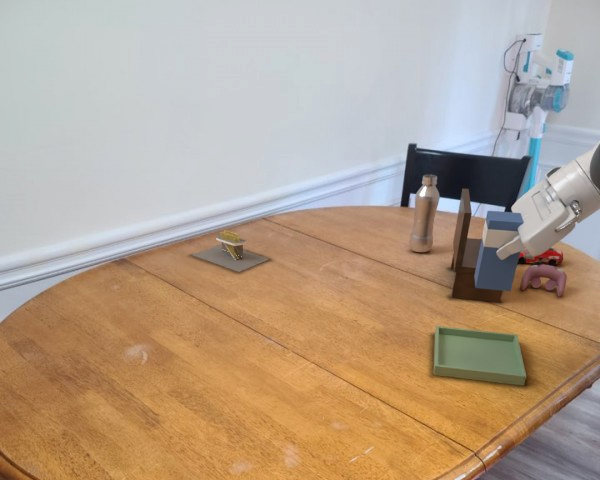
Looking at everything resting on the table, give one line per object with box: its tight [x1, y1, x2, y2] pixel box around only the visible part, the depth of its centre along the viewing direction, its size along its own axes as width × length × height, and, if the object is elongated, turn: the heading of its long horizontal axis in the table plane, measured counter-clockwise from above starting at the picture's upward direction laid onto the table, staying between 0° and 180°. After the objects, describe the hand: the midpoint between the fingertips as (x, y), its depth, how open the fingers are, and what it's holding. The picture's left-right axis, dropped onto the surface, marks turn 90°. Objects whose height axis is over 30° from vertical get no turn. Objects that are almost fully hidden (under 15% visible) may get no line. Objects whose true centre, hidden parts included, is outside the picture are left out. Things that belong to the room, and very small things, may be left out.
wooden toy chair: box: [450, 188, 503, 304], centre depth 134 cm, size 12×20×20 cm, turn 168°
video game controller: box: [520, 264, 568, 297], centre depth 136 cm, size 10×5×7 cm, turn 65°
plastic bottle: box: [408, 174, 441, 253], centre depth 152 cm, size 6×7×20 cm
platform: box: [192, 229, 270, 273], centre depth 151 cm, size 12×18×7 cm, turn 50°
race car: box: [518, 247, 564, 266], centre depth 151 cm, size 13×5×4 cm, turn 80°
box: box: [474, 210, 524, 292], centre depth 98 cm, size 6×6×12 cm
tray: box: [433, 325, 527, 386], centre depth 110 cm, size 16×16×2 cm
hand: (496, 248), depth 98 cm, fingers closed on box, 5 cm apart
